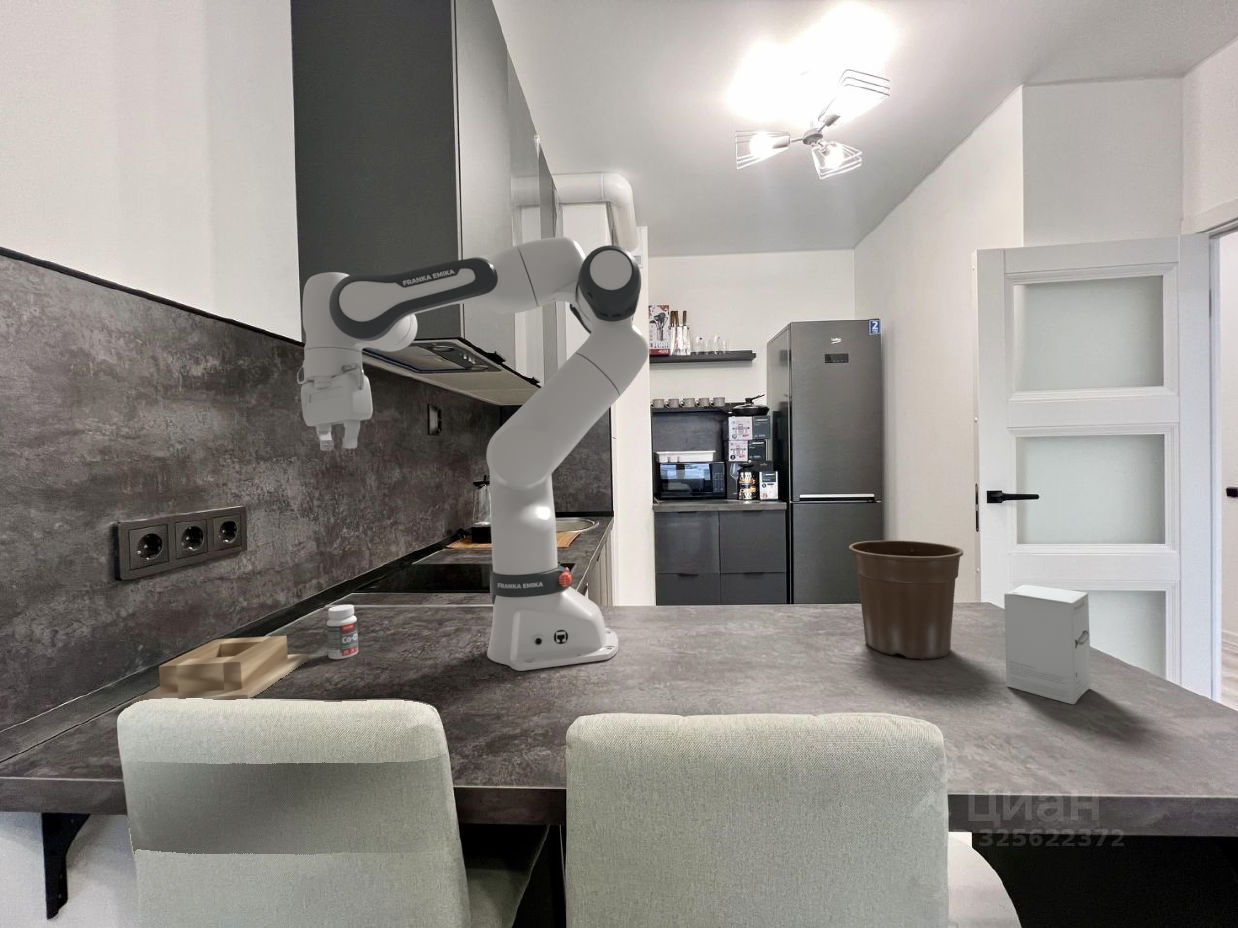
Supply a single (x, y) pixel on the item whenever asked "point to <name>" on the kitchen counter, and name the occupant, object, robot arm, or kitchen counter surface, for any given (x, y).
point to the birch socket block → (226, 669)
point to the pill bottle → (342, 632)
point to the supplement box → (1047, 642)
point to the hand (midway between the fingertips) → (338, 449)
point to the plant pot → (907, 595)
